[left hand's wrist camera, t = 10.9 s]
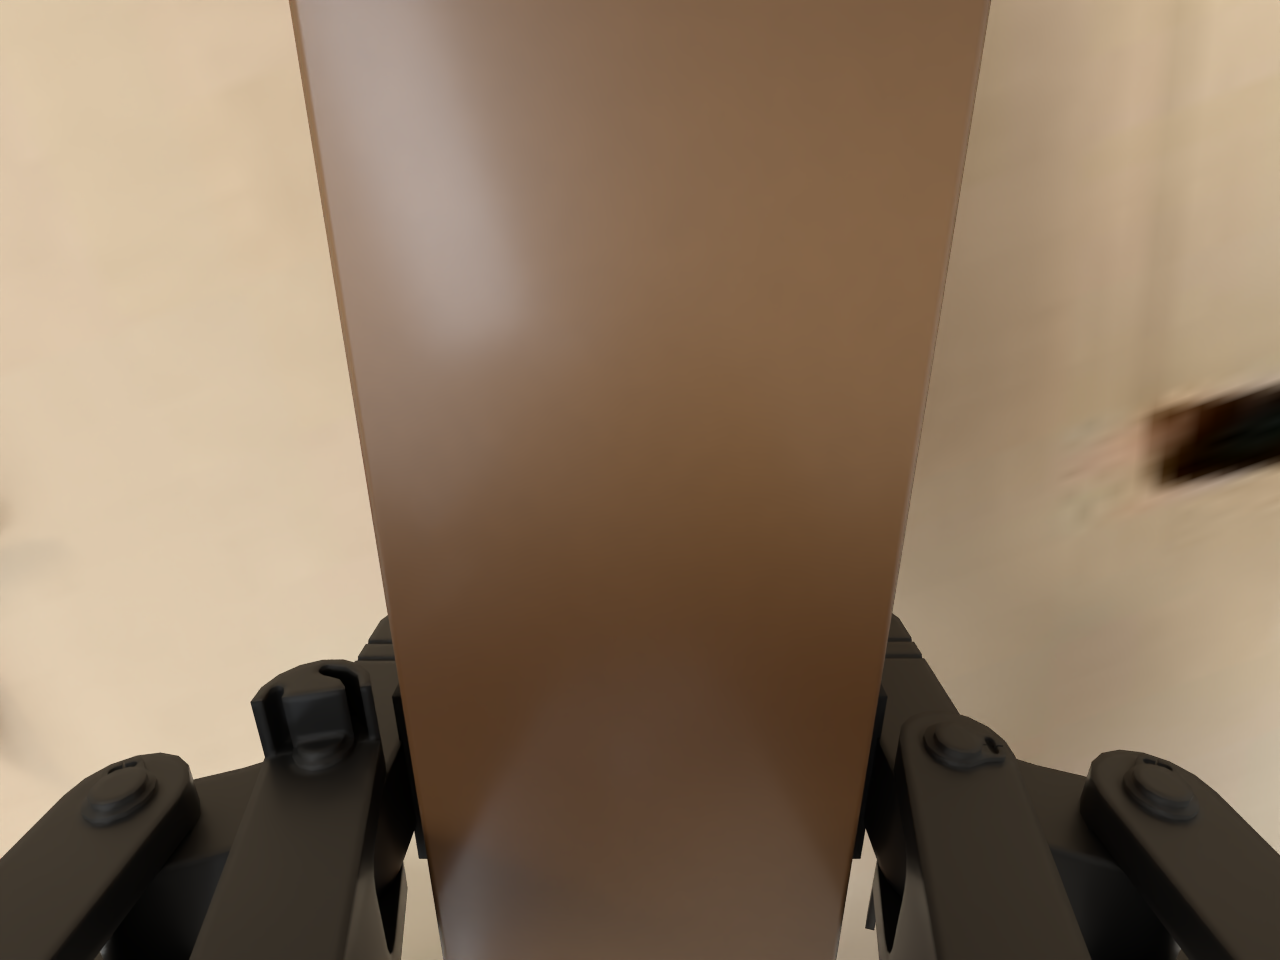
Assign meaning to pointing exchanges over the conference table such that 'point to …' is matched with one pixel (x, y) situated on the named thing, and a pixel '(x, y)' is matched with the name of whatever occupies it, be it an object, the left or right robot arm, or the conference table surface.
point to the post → (639, 434)
